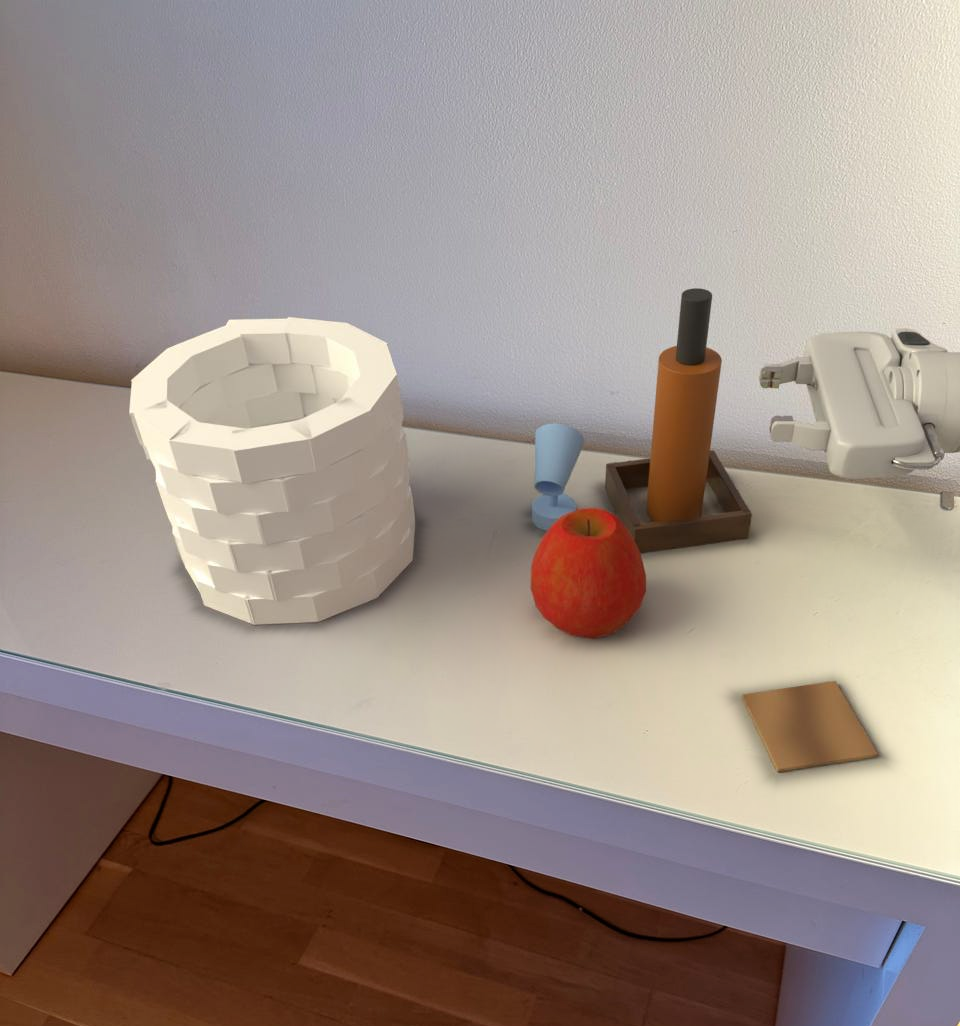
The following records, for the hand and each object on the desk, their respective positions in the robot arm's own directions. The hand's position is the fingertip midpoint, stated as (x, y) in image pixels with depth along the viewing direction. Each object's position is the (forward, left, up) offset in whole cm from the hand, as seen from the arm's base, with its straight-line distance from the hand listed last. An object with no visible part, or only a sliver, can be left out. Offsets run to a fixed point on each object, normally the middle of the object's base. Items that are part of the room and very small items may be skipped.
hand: (765, 401), depth 88 cm
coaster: (+5, +28, -13) cm, 31 cm away
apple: (+19, +11, -13) cm, 25 cm away
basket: (+45, -5, -13) cm, 47 cm away
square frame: (+7, -2, -13) cm, 15 cm away
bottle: (+7, -2, -13) cm, 15 cm away
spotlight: (+19, -4, -13) cm, 23 cm away
